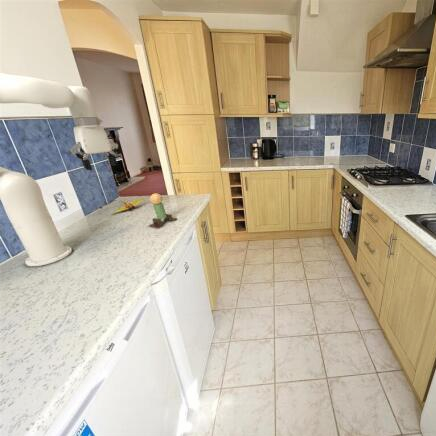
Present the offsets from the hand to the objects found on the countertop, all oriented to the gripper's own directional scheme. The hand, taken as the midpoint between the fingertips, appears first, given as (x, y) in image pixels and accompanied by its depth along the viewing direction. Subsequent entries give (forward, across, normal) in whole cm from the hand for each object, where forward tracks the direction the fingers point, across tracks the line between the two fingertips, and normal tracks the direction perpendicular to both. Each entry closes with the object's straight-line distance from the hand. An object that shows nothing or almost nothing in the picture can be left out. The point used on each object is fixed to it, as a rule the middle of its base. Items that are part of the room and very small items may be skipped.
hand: (102, 167), depth 99 cm
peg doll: (+26, -12, +12) cm, 31 cm away
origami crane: (+28, -19, -22) cm, 41 cm away
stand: (+28, -12, +12) cm, 33 cm away
